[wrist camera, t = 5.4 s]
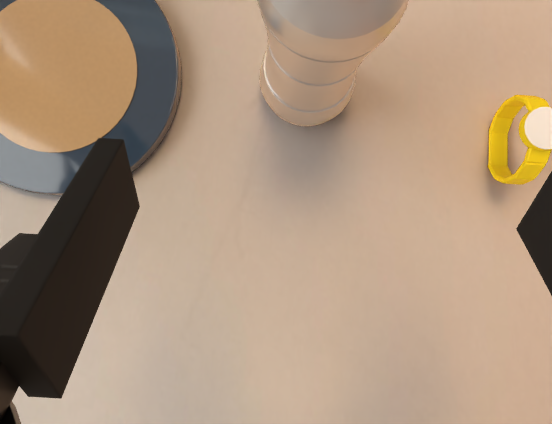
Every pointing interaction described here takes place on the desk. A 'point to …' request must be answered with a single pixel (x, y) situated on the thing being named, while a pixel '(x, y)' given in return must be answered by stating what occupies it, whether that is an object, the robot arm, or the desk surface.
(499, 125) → the watch
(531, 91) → the desk surface
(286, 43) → the silver metal bottle
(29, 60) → the plate
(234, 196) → the desk surface
